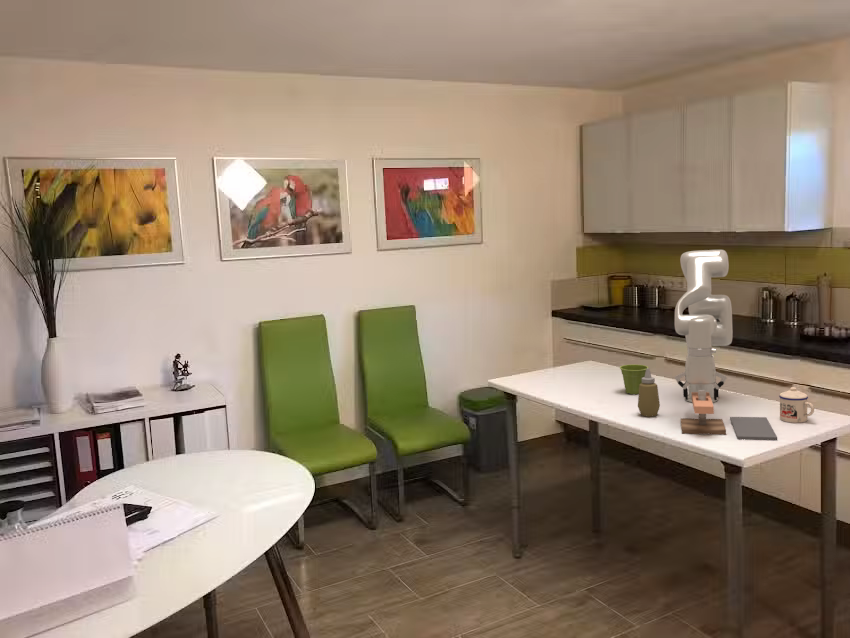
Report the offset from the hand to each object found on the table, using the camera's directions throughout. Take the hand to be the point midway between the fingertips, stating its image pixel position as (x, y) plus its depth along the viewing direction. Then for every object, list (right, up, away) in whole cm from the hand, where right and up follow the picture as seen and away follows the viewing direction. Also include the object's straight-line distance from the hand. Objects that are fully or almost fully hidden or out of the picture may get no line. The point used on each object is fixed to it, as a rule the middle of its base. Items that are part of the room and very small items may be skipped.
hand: (700, 399), depth 254 cm
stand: (-1, -10, -5) cm, 11 cm away
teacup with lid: (+33, -7, -4) cm, 34 cm away
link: (-2, -2, -6) cm, 7 cm away
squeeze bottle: (-14, -8, +16) cm, 22 cm away
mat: (+14, -9, -10) cm, 19 cm away
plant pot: (-9, -3, +50) cm, 51 cm away
